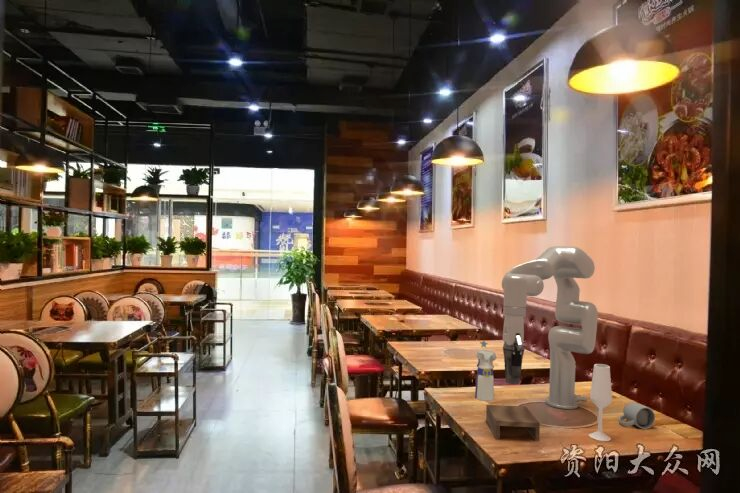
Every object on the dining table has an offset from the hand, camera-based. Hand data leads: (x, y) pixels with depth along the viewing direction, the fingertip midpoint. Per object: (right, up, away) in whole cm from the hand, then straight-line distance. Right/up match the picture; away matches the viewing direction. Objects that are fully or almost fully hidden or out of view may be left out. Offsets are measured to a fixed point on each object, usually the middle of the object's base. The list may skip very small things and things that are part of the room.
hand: (513, 362), depth 164 cm
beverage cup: (0, -7, 0) cm, 7 cm away
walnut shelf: (-1, -23, 0) cm, 23 cm away
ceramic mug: (+47, -25, +9) cm, 54 cm away
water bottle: (-1, -24, +35) cm, 42 cm away
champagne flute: (+28, -24, -3) cm, 37 cm away
